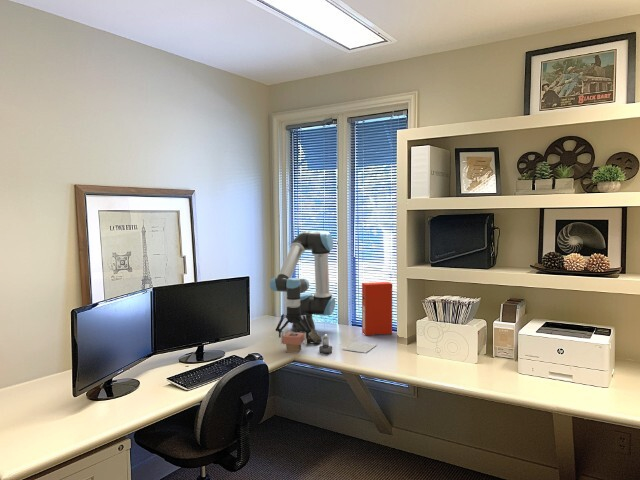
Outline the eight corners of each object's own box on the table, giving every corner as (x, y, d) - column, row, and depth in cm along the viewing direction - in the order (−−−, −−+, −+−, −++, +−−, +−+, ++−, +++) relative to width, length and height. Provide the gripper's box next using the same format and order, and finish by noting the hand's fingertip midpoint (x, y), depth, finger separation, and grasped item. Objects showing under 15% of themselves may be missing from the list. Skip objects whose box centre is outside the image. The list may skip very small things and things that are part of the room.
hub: (320, 350, 267) (320, 332, 266) (332, 350, 266) (332, 333, 265) (318, 354, 260) (318, 336, 259) (330, 354, 259) (330, 336, 258)
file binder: (361, 332, 305) (362, 282, 303) (387, 331, 308) (388, 281, 306) (365, 335, 297) (365, 284, 295) (392, 334, 300) (392, 283, 298)
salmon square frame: (287, 339, 272) (287, 332, 271) (304, 339, 270) (304, 333, 270) (282, 344, 262) (282, 336, 262) (300, 344, 260) (300, 337, 260)
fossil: (322, 344, 276) (314, 329, 275) (308, 351, 277) (300, 337, 276) (322, 339, 287) (314, 324, 286) (309, 345, 288) (301, 331, 287)
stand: (289, 348, 270) (289, 331, 270) (301, 349, 269) (301, 332, 268) (286, 352, 263) (286, 334, 263) (298, 353, 262) (298, 335, 262)
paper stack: (392, 348, 272) (392, 347, 272) (376, 360, 250) (376, 359, 250) (354, 343, 282) (354, 341, 282) (336, 354, 260) (336, 353, 260)
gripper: (269, 306, 263) (270, 344, 265) (314, 308, 259) (314, 347, 260) (273, 304, 271) (274, 341, 272) (316, 305, 266) (317, 343, 267)
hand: (293, 344), depth 266 cm, fingers open, 13 cm apart
